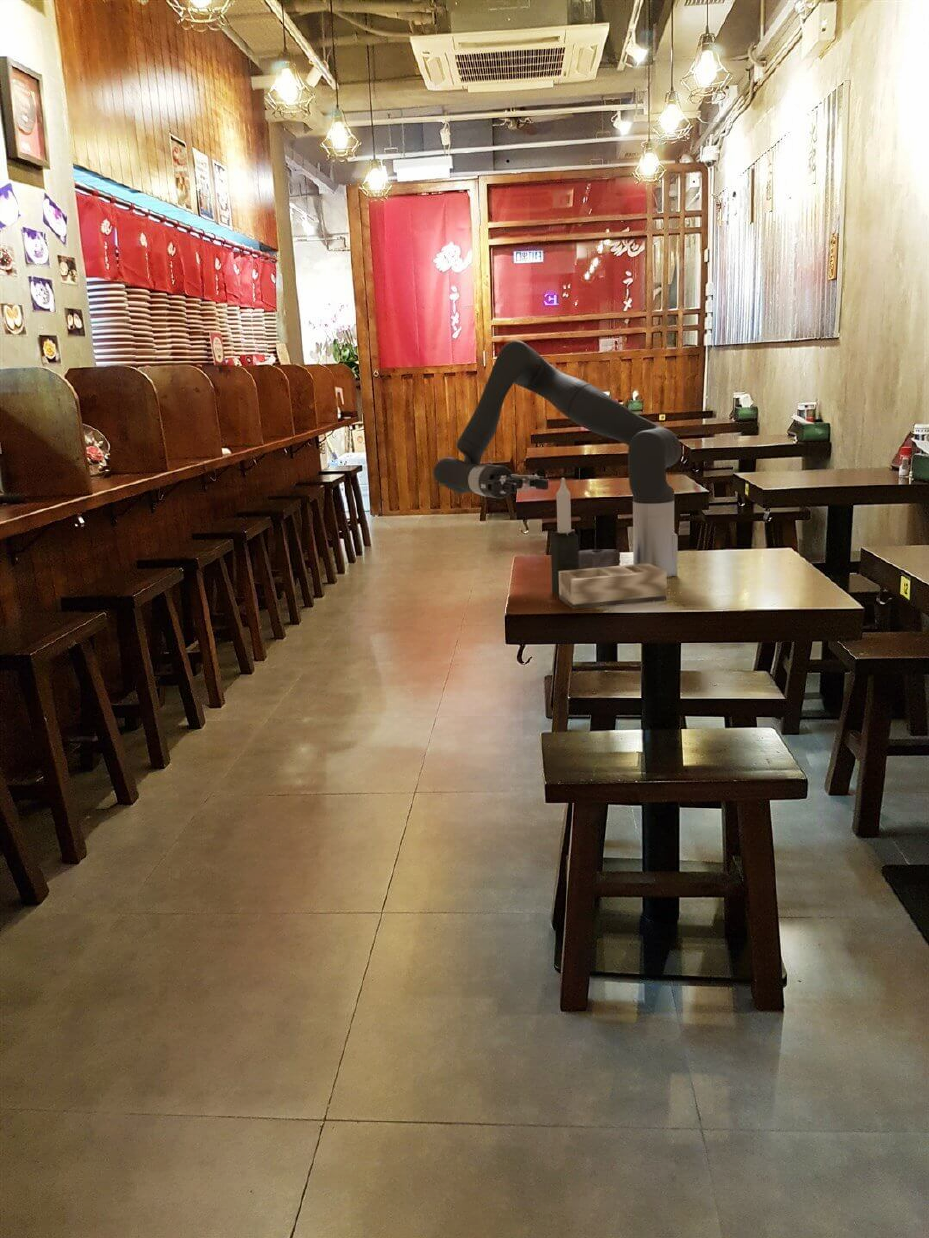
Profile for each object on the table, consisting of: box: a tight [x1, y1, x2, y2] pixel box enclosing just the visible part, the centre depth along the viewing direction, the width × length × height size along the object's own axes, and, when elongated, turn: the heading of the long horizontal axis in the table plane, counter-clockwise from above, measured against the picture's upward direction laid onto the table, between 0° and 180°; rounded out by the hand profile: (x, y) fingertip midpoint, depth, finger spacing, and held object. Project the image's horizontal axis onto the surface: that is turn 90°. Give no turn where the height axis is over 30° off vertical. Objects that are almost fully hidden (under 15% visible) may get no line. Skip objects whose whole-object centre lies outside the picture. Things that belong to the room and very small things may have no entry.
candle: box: [550, 477, 580, 597], centre depth 207 cm, size 5×5×25 cm
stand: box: [558, 563, 668, 610], centre depth 201 cm, size 20×10×6 cm, turn 101°
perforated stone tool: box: [579, 548, 621, 569], centre depth 223 cm, size 15×5×7 cm, turn 74°
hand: (531, 486), depth 214 cm, fingers open, 8 cm apart
